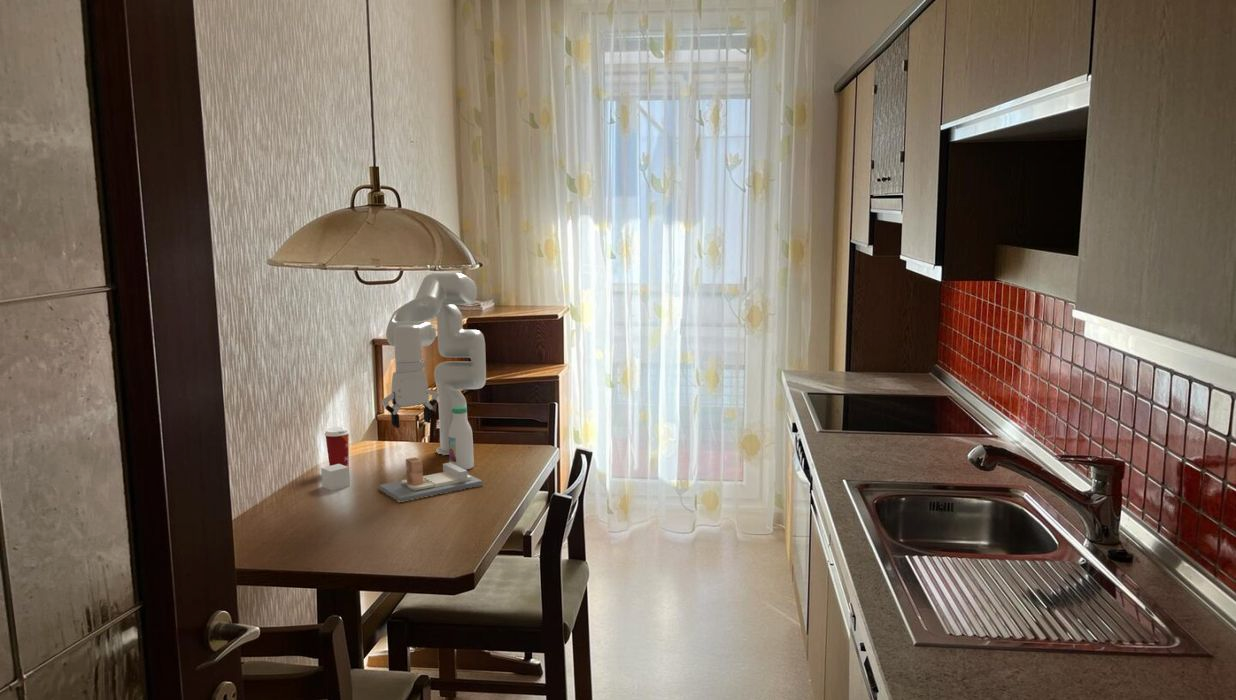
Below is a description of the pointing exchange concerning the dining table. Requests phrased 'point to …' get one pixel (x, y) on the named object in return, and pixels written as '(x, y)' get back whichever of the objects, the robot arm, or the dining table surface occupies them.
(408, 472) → the stub
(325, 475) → the white cube
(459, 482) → the holder
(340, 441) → the paper cup
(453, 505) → the dining table surface
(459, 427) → the milk bottle
